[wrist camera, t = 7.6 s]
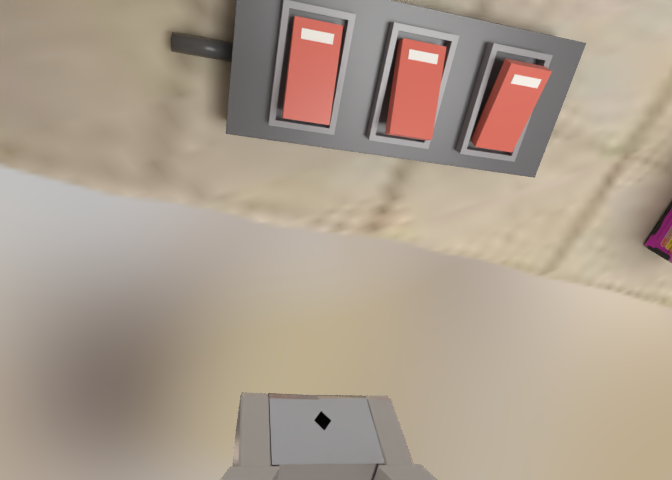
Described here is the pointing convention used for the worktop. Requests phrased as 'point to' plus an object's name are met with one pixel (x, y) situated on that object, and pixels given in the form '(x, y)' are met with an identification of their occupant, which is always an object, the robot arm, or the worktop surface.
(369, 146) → the rocker switch panel
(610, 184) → the worktop surface
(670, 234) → the candy bar box
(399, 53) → the rocker
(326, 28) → the rocker
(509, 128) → the rocker
